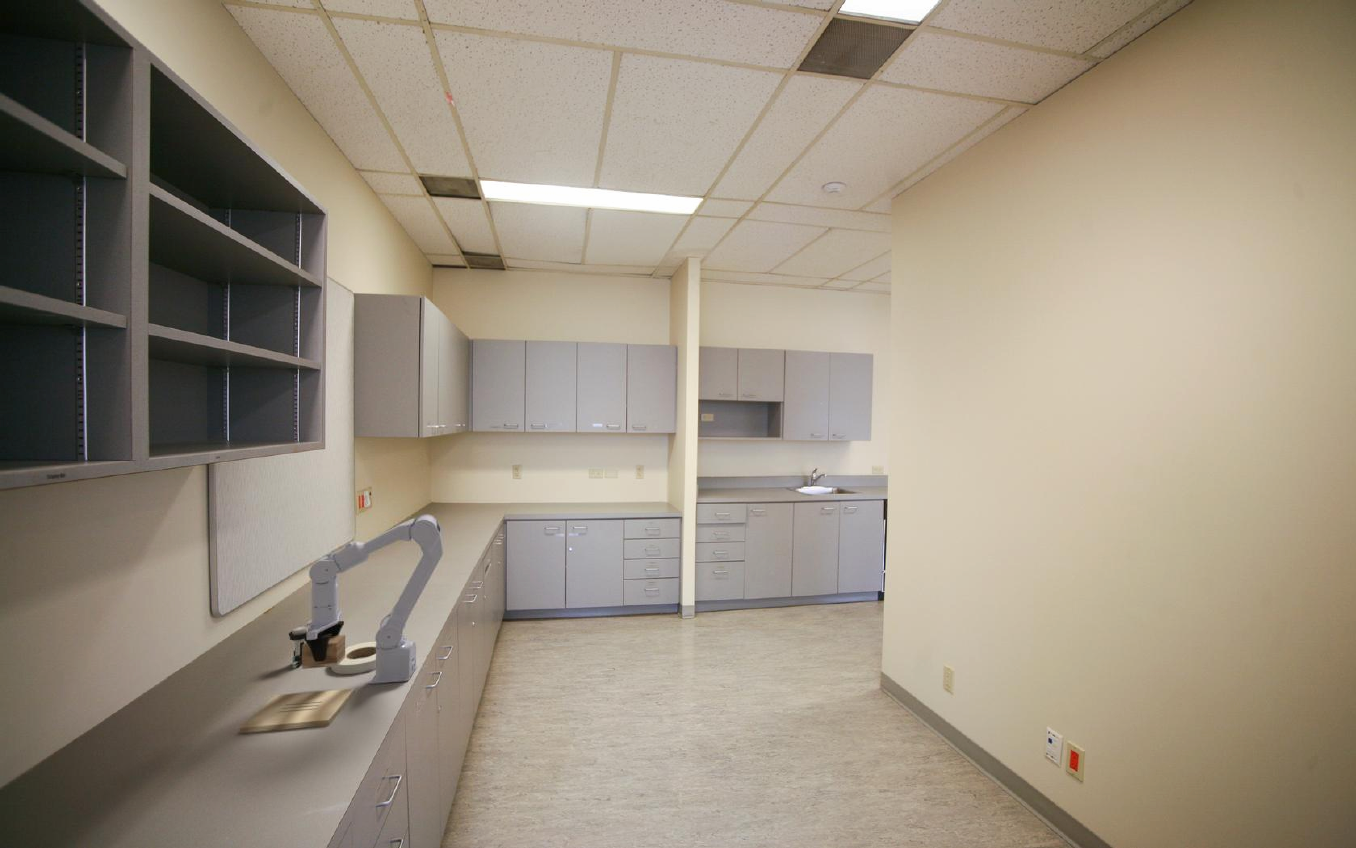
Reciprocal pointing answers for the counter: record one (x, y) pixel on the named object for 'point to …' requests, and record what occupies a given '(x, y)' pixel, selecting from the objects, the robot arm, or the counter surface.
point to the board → (298, 710)
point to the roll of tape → (357, 665)
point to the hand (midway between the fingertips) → (324, 656)
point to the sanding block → (332, 655)
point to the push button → (298, 643)
